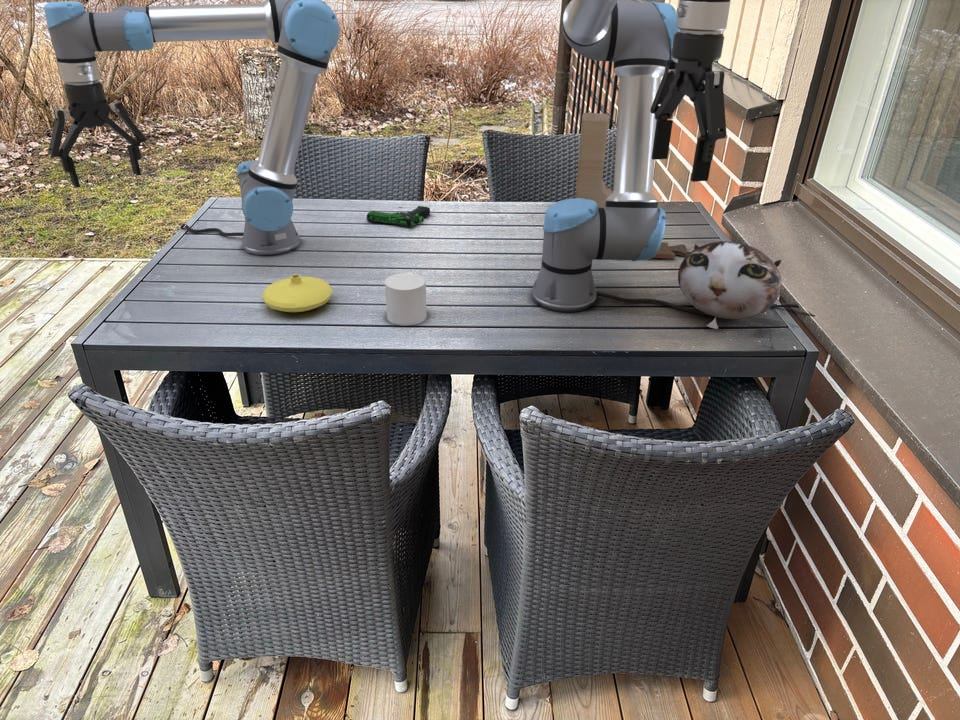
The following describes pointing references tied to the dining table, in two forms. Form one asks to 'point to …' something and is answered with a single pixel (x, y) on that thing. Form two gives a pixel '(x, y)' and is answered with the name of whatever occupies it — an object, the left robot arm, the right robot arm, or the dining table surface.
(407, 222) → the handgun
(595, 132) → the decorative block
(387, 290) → the can
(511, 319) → the dining table surface
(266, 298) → the vase
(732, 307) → the cat face balloon
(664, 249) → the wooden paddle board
